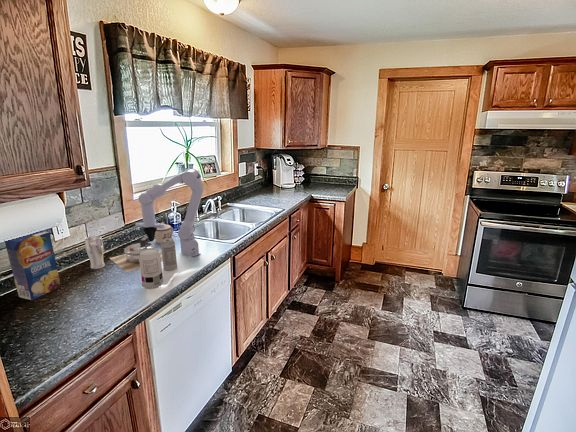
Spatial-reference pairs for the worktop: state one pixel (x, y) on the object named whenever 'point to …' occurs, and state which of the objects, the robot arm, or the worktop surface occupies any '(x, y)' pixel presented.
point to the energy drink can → (169, 254)
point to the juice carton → (33, 264)
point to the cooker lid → (139, 247)
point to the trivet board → (124, 264)
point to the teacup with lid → (163, 233)
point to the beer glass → (95, 251)
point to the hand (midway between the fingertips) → (151, 240)
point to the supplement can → (150, 268)
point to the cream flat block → (132, 259)
